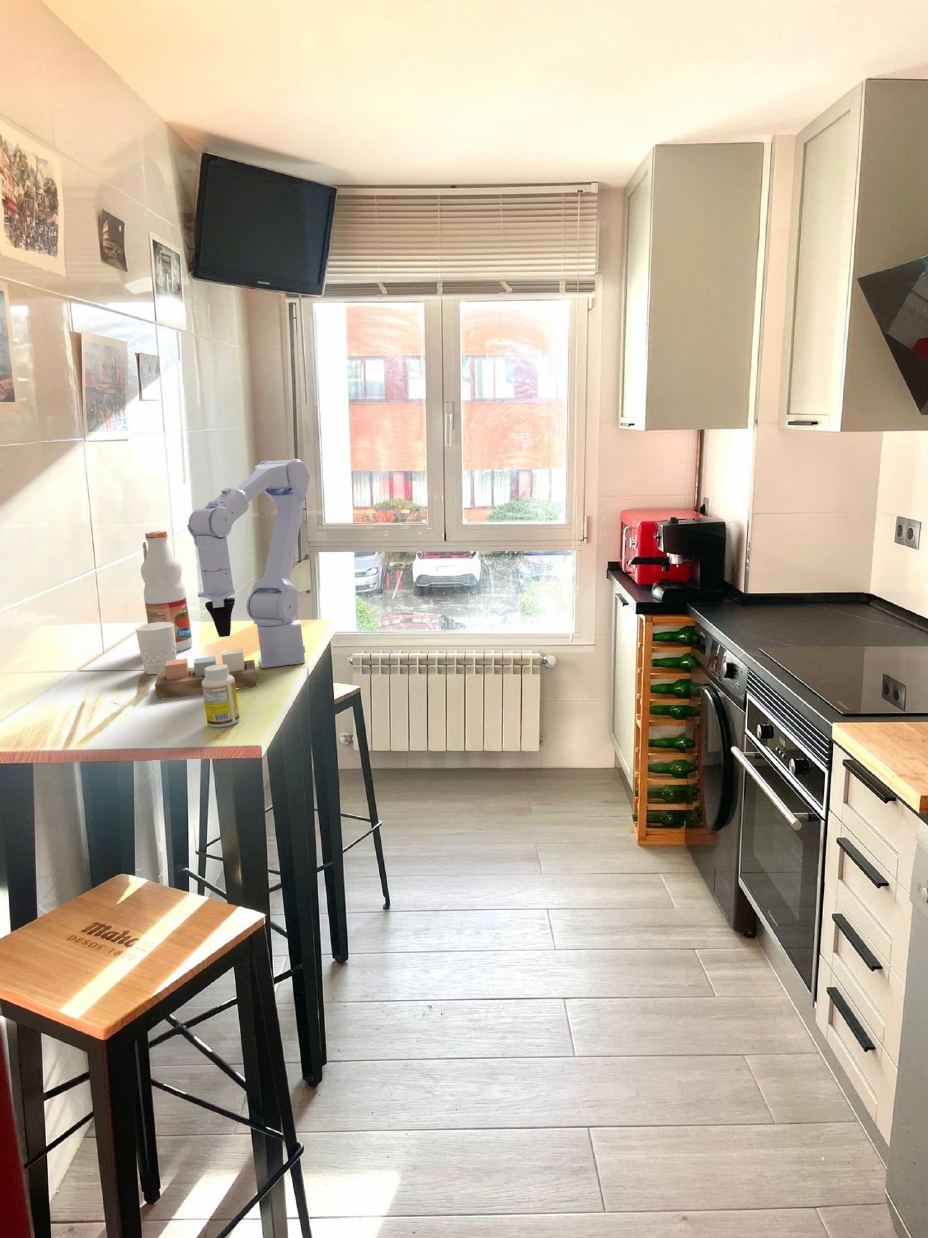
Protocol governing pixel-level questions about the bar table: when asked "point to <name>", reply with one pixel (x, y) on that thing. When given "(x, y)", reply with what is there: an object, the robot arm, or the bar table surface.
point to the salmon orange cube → (176, 669)
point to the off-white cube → (233, 659)
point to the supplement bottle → (220, 696)
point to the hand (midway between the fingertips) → (224, 636)
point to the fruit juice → (165, 589)
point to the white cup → (156, 645)
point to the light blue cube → (203, 664)
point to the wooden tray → (200, 682)
